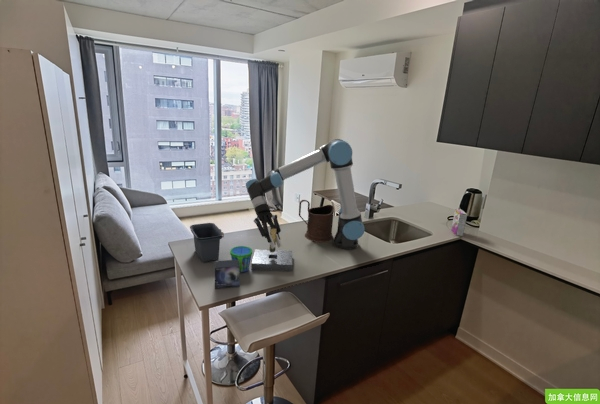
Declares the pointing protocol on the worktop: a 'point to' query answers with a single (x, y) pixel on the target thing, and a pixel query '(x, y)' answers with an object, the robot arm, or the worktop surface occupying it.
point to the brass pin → (273, 234)
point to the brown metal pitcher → (319, 223)
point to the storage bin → (207, 240)
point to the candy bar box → (459, 222)
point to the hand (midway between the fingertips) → (276, 247)
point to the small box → (227, 274)
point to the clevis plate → (272, 260)
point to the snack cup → (242, 256)
